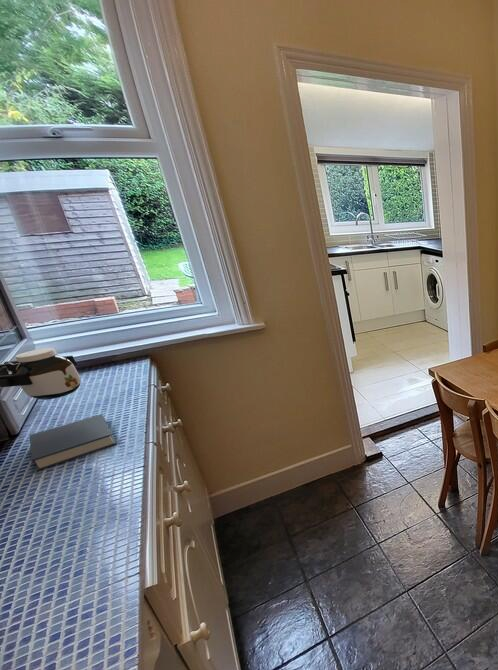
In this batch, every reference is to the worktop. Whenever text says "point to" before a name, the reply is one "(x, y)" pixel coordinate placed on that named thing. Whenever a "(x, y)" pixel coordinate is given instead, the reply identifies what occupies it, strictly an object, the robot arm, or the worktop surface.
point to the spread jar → (47, 374)
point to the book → (70, 441)
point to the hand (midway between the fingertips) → (52, 369)
